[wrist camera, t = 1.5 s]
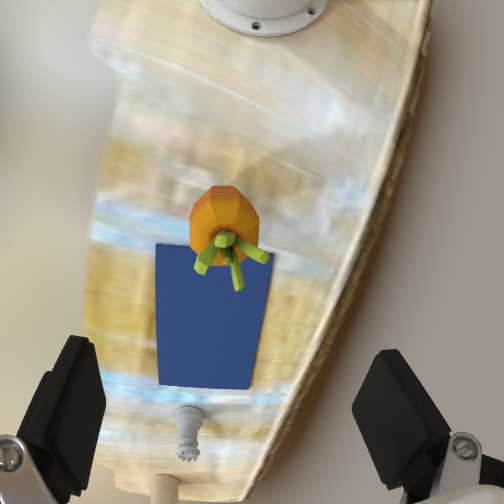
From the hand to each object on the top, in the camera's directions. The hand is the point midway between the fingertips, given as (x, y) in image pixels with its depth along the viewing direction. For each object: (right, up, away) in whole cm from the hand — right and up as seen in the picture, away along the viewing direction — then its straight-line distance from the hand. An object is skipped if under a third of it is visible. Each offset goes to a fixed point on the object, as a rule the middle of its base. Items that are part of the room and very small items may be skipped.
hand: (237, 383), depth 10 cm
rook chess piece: (-9, -19, +33) cm, 39 cm away
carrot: (-3, +10, +21) cm, 23 cm away
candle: (-17, -42, +42) cm, 62 cm away
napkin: (-5, -5, +27) cm, 28 cm away
